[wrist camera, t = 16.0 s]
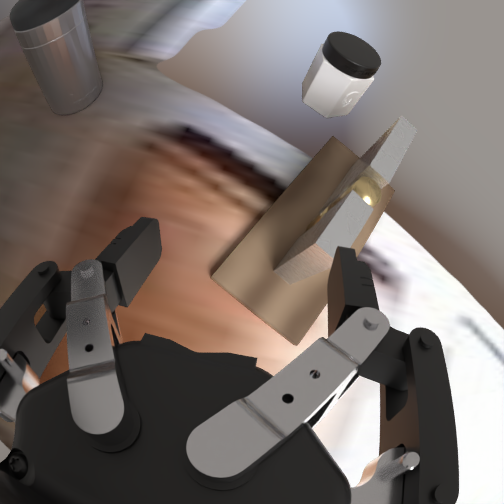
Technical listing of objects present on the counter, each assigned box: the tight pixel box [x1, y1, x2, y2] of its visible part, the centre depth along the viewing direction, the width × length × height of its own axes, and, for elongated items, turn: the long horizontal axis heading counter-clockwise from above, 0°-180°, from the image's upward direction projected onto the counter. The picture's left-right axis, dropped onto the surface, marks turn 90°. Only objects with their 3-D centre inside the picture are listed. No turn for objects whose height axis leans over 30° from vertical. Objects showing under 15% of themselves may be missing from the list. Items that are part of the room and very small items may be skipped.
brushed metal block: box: [274, 177, 382, 285], centre depth 28 cm, size 8×3×12 cm, turn 142°
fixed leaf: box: [306, 116, 417, 231], centre depth 31 cm, size 3×14×12 cm, turn 142°
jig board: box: [211, 136, 395, 346], centre depth 35 cm, size 12×26×1 cm, turn 142°
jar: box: [302, 32, 381, 118], centre depth 36 cm, size 9×8×12 cm
